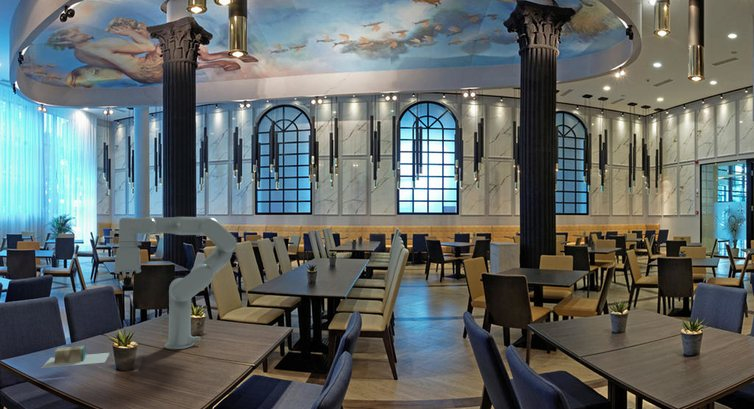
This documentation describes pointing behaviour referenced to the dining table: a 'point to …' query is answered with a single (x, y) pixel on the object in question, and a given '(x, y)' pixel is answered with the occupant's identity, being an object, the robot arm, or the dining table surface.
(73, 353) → the oak block
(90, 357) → the grey mat
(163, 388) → the dining table surface
